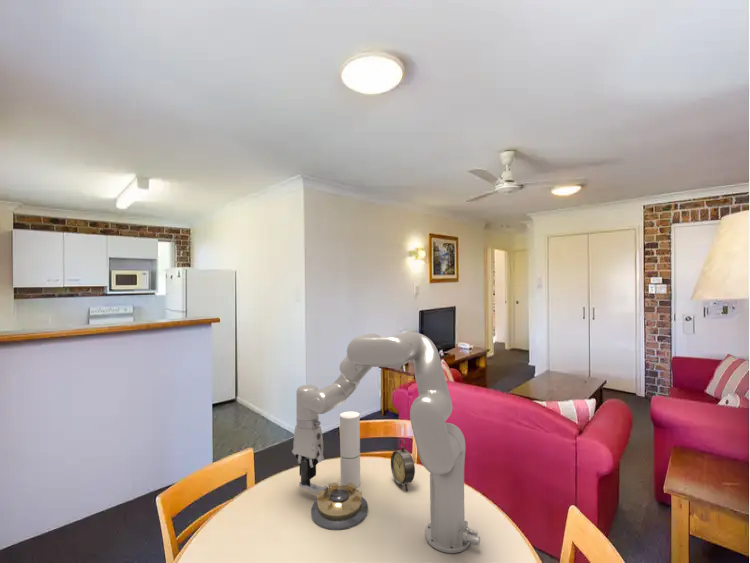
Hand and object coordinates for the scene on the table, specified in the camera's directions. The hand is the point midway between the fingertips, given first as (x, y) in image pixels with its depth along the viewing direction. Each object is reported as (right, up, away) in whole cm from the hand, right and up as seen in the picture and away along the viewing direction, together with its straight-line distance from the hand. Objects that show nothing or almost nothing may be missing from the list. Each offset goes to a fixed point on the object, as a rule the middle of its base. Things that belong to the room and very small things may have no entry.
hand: (307, 475), depth 125 cm
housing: (+12, -6, -9) cm, 17 cm away
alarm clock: (+34, -7, +6) cm, 35 cm away
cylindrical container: (+14, -7, +7) cm, 17 cm away
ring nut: (+8, -5, -7) cm, 11 cm away
